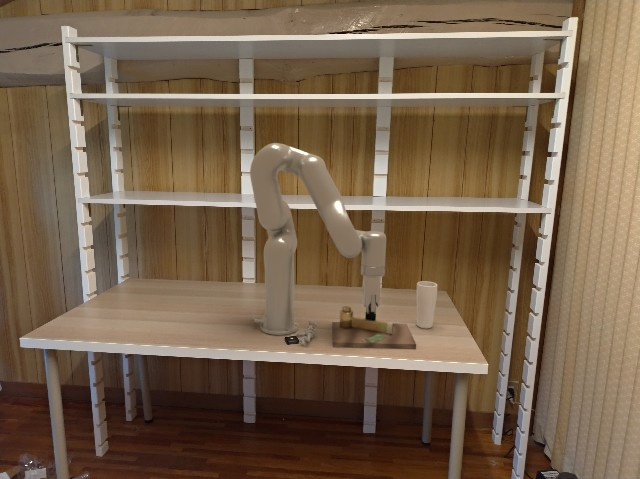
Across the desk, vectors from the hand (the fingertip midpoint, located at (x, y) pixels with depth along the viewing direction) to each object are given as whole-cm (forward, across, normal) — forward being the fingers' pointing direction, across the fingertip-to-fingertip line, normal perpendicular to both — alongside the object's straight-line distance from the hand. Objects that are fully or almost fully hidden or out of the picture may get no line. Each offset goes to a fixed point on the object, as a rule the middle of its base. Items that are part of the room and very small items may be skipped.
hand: (370, 324), depth 151 cm
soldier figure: (+3, +7, -20) cm, 21 cm away
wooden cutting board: (+3, +4, 0) cm, 5 cm away
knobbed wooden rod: (+1, +2, -2) cm, 3 cm away
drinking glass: (+3, -6, +19) cm, 20 cm away
